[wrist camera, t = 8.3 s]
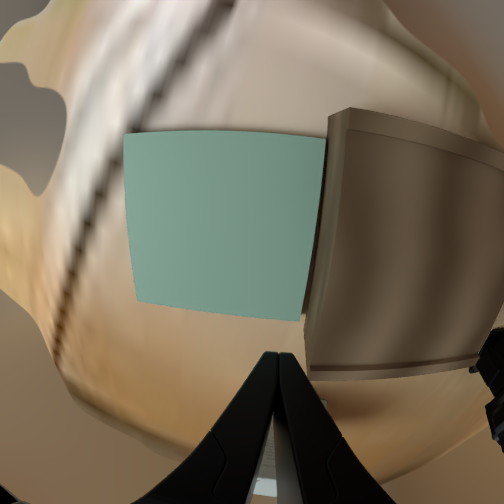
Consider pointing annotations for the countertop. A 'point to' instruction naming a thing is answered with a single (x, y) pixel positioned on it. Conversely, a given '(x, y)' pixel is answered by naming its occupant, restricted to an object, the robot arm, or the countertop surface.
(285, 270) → the cover plate
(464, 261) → the walnut box
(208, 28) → the countertop surface
